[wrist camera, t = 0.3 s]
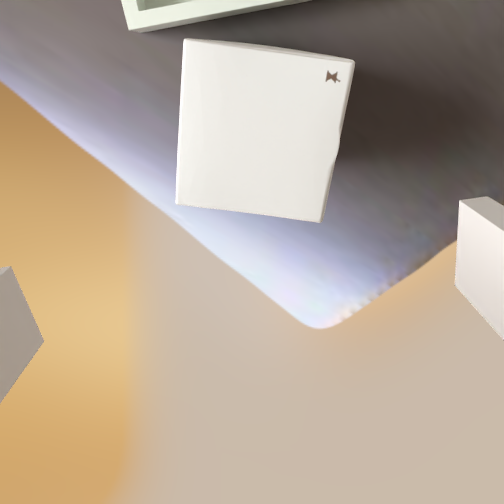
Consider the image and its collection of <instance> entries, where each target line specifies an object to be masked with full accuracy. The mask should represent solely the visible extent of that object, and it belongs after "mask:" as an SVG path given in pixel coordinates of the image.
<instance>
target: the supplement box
mask: <svg viewBox="0 0 504 504" xmlns="http://www.w3.org/2000/svg"><path fill="white" fill-rule="evenodd" d="M354 68H355V62H354V61H353V60H351V59H346V58H341V57H336V56H330V55H324V54H318V53H312V52H306V51H300V50H294V49H287V48H280V47H273V46H266V45H258V44H249V43H240V42H229V41H217V40H203V39H190V38H185V39H184V43H183V62H182V79H181V98H180V117H179V137H178V157H177V178H176V204H177V205H186V206H194V207H201V208H210V209H219V210H229V211H237V212H246V213H254V214H261V215H269V216H276V217H283V218H290V219H297V220H304V221H311V222H319V223H321V222H322V221H323V217H324V212H325V207H326V203H327V198H328V193H329V188H330V183H331V179H332V174H333V169H334V165H335V160H336V157H337V154H338V149H339V144H340V135H341V131H342V126H343V121H344V116H345V111H346V106H347V102H348V97H349V92H350V88H351V83H352V78H353V73H354Z"/></svg>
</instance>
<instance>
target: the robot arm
mask: <svg viewBox="0 0 504 504" xmlns="http://www.w3.org/2000/svg"><path fill="white" fill-rule="evenodd" d="M455 286H456V287H457V288H458V290H459V291H461V293H462V294H463V295H464V296H465V297H466V299H467V300H468V301H469V302H470V303H471V304H472V305H473V306H474V307H475V309H477V311H478V312H479V313H480V314H481V315H482V316H483V318H484V319H485V320H486V321H487V322H488V323H489V324H490V325H491V327H492V328H493V329H494V330H495V331H496V332H497V333H498V334H499V335H500V336H501V338H502V339H503V340H504V206H503V205H501V204H499V203H498V202H496V201H494V200H493V199H491V198H489V197H488V196H487V197H480V198H473V199H466V200H460V201H459V219H458V237H457V256H456V274H455ZM43 342H44V340H43V338H42V335H41V333H40V331H39V328H38V326H37V324H36V322H35V320H34V317H33V315H32V313H31V310H30V308H29V306H28V304H27V301H26V299H25V297H24V295H23V293H22V290H21V288H20V286H19V284H18V281H17V279H16V277H15V274H14V272H13V270H12V268H11V266H10V267H3V268H0V403H1V401H2V400H3V399H4V397H5V396H6V394H7V393H8V391H9V390H10V389H11V387H12V386H13V384H14V383H15V382H16V380H17V379H18V377H19V376H20V374H21V373H22V372H23V370H24V369H25V367H26V366H27V365H28V363H29V362H30V360H31V359H32V358H33V356H34V355H35V353H36V352H37V351H38V349H39V348H40V346H41V345H42V343H43Z"/></svg>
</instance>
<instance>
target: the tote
mask: <svg viewBox="0 0 504 504" xmlns="http://www.w3.org/2000/svg"><path fill="white" fill-rule="evenodd" d="M121 1H122V5H123V9H124V13H125V17H126V21H127V25H128V29H129V30H131V31H136V32H140V33H143V32H149V31H154V30H159V29H164V28H170V27H175V26H180V25H185V24H191V23H196V22H201V21H206V20H212V19H217V18H222V17H227V16H233V15H238V14H243V13H248V12H254V11H259V10H264V9H269V8H275V7H280V6H285V5H290V4H296V3H301V2H306V1H311V0H121Z"/></svg>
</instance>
